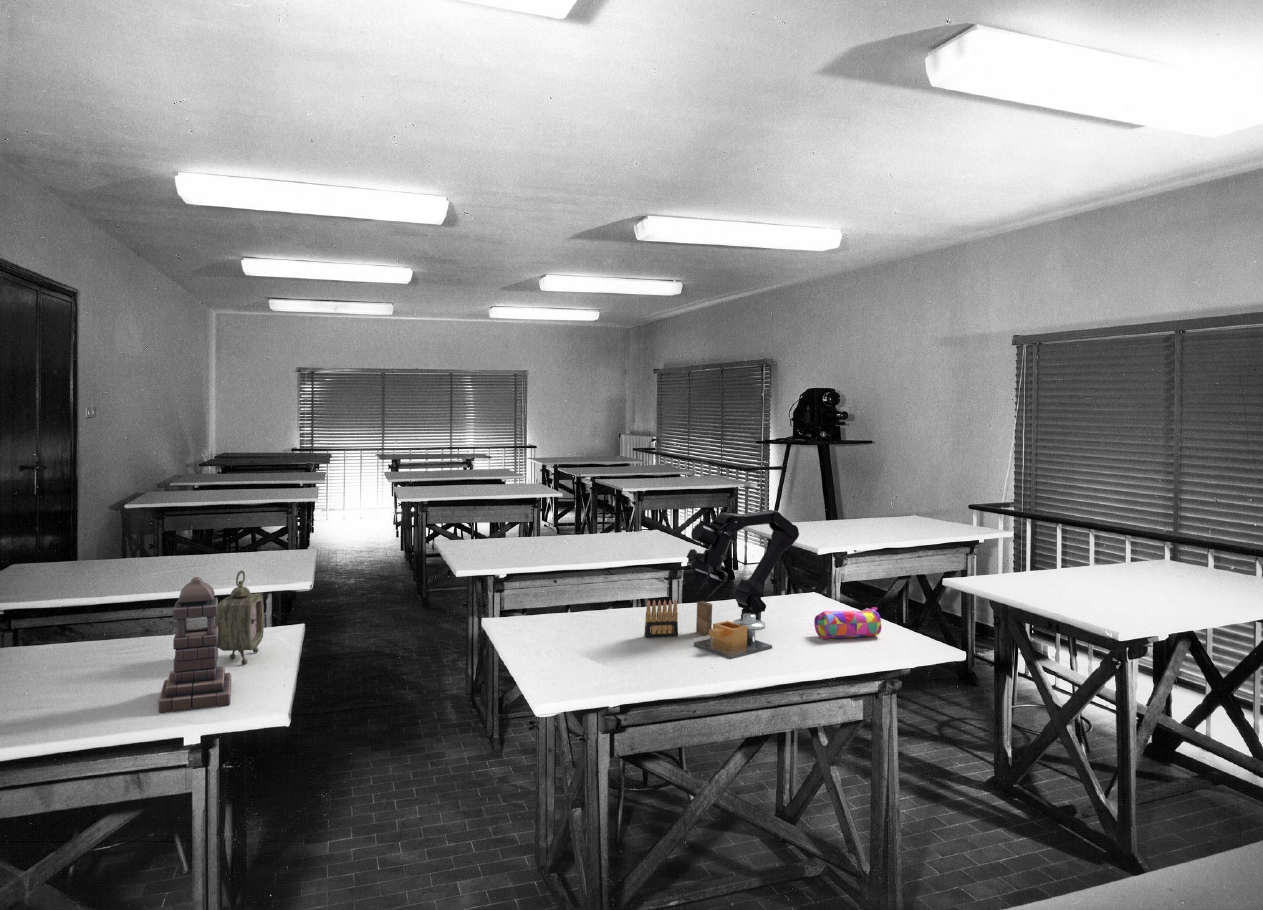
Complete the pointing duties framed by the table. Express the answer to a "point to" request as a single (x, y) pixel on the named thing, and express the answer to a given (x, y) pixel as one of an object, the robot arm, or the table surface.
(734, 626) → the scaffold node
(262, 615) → the tabletop clock
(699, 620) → the wedge
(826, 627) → the pencil case
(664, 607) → the ammunition clip
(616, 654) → the table surface
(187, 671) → the miniature tower
